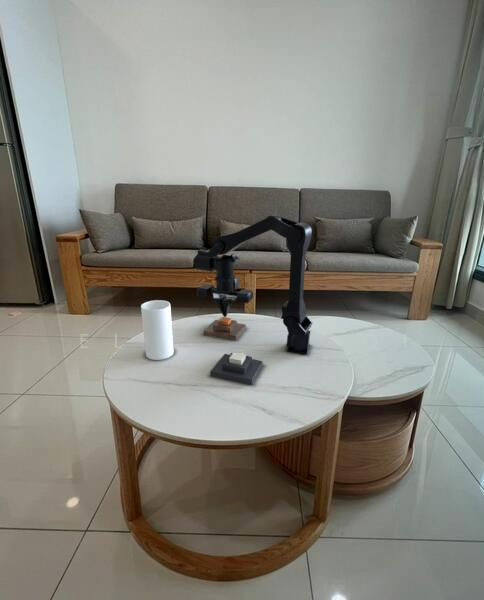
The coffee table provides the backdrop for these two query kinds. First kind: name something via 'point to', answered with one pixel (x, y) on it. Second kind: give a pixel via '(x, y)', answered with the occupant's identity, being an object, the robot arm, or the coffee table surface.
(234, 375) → the dark grey stepped stand
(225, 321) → the key back
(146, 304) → the cup
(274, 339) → the coffee table surface
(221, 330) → the stepped brown pyramid
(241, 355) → the key front
